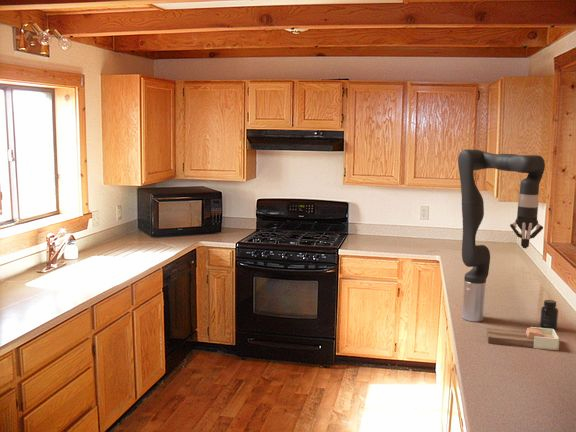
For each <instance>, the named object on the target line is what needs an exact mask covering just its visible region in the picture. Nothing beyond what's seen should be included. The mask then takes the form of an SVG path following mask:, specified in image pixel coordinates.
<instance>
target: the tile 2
mask: <svg viewBox="0 0 576 432" xmlns="http://www.w3.org/2000/svg"><path fill="white" fill-rule="evenodd" d="M542 337H547V338H554V336H553V335H547V334H543V335H542Z"/></svg>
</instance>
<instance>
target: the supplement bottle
mask: <svg viewBox="0 0 576 432" xmlns="http://www.w3.org/2000/svg"><path fill="white" fill-rule="evenodd" d="M539 319H540V321H539V328H548V329H554V330H555V331H557V329H558V319H559V309H558V308H557V301H556V300H554V299H545V300H543V306H542V307H541V308H540V318H539Z"/></svg>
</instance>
